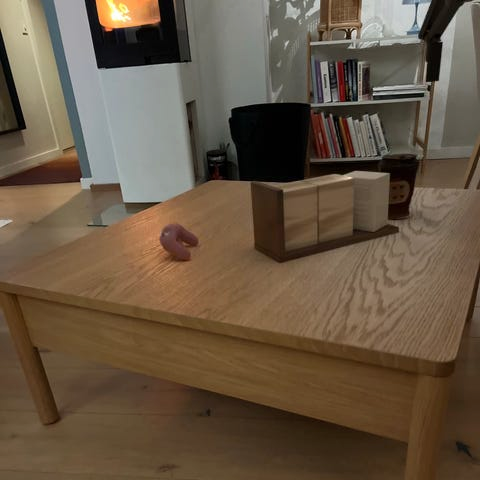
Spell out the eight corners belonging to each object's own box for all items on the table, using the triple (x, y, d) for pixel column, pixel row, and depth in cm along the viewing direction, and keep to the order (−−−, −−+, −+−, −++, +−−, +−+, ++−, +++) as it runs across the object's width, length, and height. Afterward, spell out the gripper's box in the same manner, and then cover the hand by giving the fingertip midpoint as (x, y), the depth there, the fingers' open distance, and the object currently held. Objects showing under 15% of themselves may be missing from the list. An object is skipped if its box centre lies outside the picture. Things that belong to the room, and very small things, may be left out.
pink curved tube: (183, 251, 100) (164, 223, 98) (201, 241, 99) (182, 212, 96) (172, 269, 92) (151, 239, 89) (192, 258, 90) (171, 227, 88)
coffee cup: (409, 223, 101) (415, 159, 95) (370, 220, 105) (373, 159, 99) (418, 212, 107) (424, 151, 101) (381, 209, 111) (384, 151, 105)
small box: (387, 225, 97) (391, 173, 92) (373, 233, 94) (376, 178, 89) (354, 220, 102) (355, 170, 97) (339, 227, 99) (340, 175, 94)
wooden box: (399, 231, 96) (404, 165, 90) (279, 262, 86) (276, 190, 80) (366, 221, 104) (369, 159, 98) (254, 248, 94) (249, 181, 88)
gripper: (404, -51, 84) (395, 84, 93) (539, -97, 63) (510, 81, 73) (436, -50, 86) (424, 80, 96) (575, -94, 66) (542, 76, 76)
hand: (461, 81), depth 85 cm, fingers open, 13 cm apart
